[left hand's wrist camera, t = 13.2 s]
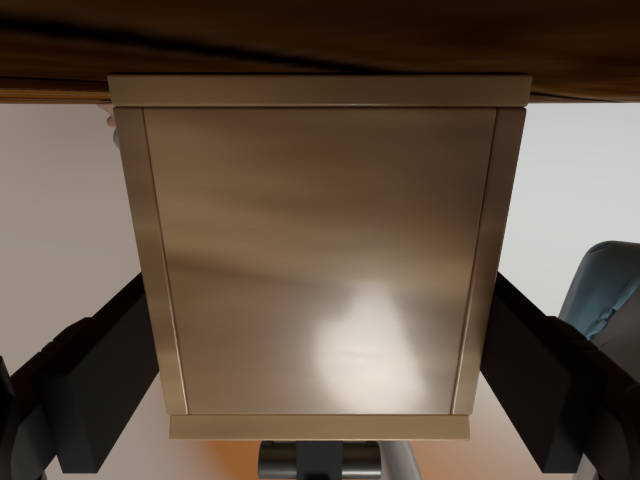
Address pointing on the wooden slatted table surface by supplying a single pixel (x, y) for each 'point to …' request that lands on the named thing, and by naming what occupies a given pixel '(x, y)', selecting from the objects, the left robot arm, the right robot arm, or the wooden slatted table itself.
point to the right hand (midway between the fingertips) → (319, 413)
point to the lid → (319, 436)
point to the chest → (319, 234)
